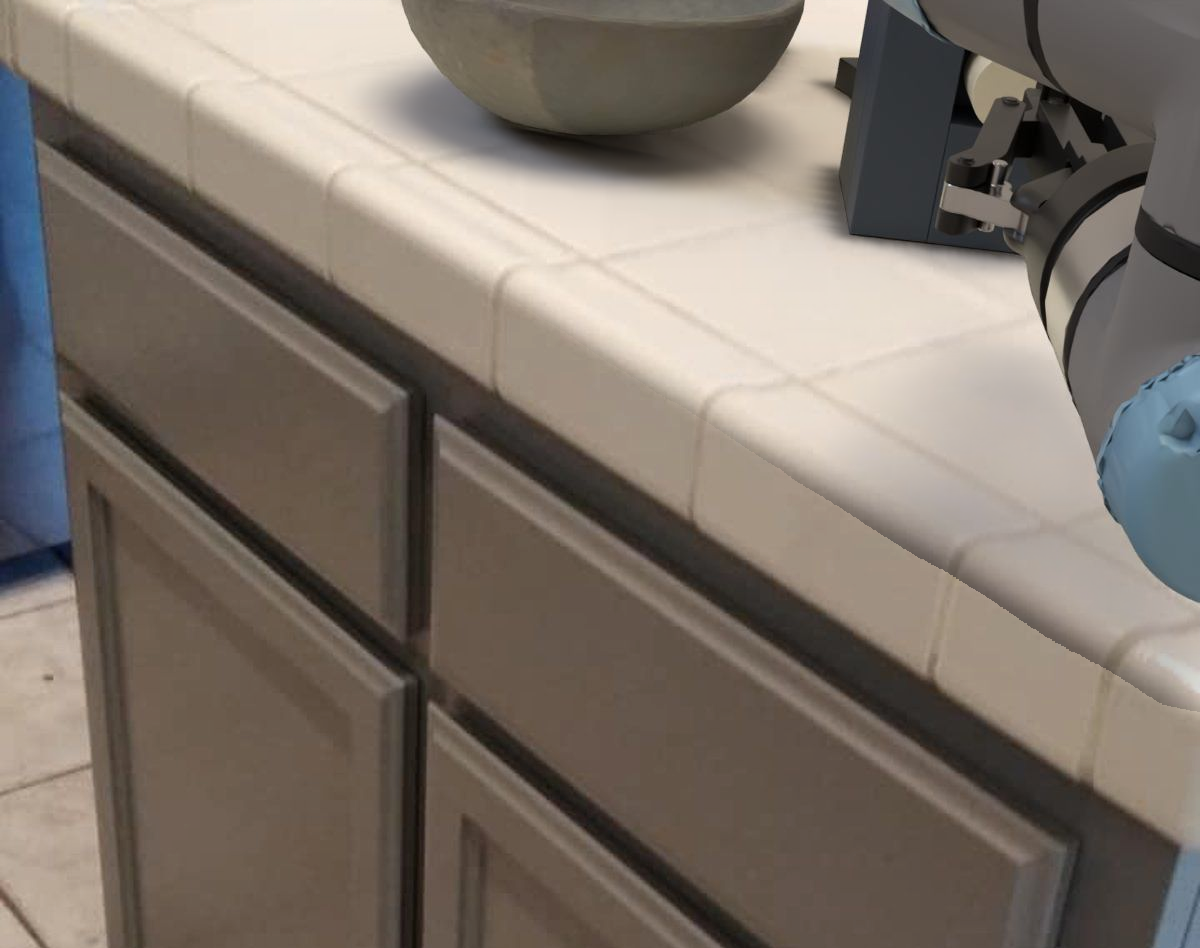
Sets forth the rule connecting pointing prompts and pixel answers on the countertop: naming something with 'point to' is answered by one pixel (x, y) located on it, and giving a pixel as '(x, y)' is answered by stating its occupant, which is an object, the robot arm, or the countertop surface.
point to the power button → (992, 83)
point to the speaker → (908, 133)
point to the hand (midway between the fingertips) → (1053, 86)
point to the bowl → (605, 57)
